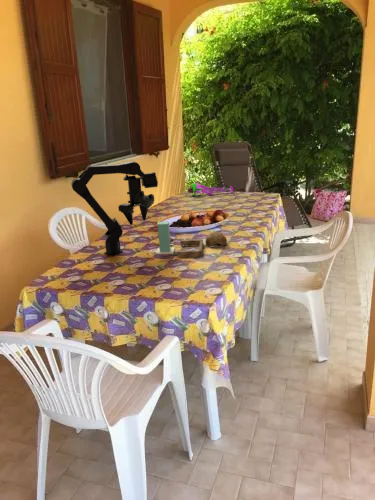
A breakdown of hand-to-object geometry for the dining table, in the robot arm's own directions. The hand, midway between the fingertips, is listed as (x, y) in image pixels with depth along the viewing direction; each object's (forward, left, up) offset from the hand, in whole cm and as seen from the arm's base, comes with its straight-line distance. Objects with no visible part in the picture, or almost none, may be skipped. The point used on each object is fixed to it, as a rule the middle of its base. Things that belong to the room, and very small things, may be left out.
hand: (138, 222), depth 201 cm
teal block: (+2, -13, -12) cm, 18 cm away
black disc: (+2, -21, -13) cm, 25 cm away
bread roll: (+21, -29, -13) cm, 38 cm away
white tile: (+2, -13, -13) cm, 19 cm away
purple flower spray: (+125, +37, -14) cm, 131 cm away
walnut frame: (+8, -23, -13) cm, 28 cm away
